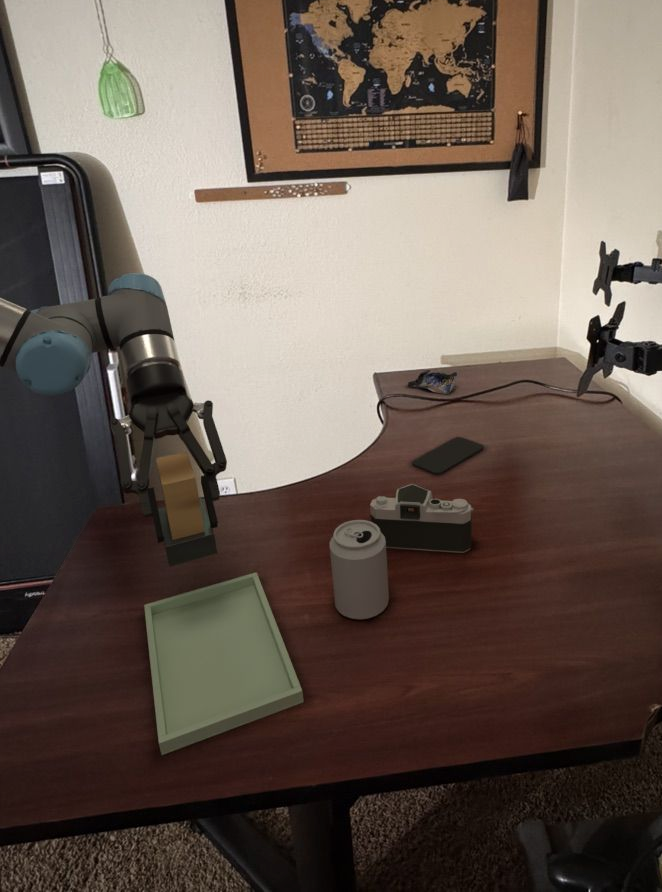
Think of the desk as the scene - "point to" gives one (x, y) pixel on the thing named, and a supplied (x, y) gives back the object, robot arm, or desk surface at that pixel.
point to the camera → (423, 521)
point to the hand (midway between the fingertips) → (188, 532)
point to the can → (359, 569)
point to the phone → (447, 455)
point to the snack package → (435, 381)
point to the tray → (216, 661)
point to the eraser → (183, 512)
